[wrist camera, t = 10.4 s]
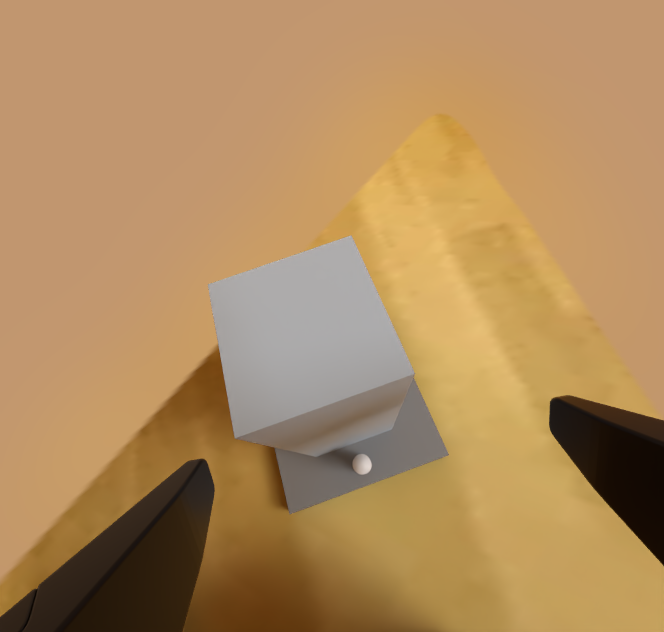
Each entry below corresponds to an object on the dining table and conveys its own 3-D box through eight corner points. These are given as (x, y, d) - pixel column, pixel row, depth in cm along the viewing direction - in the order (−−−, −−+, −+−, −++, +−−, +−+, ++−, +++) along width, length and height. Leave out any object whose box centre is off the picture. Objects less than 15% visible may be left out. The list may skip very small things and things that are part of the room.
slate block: (391, 429, 20) (415, 373, 9) (316, 456, 20) (234, 438, 8) (363, 357, 22) (351, 235, 11) (295, 381, 22) (207, 284, 11)
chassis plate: (445, 455, 20) (458, 452, 17) (293, 512, 20) (278, 520, 17) (384, 319, 25) (385, 297, 21) (258, 364, 24) (241, 348, 21)
